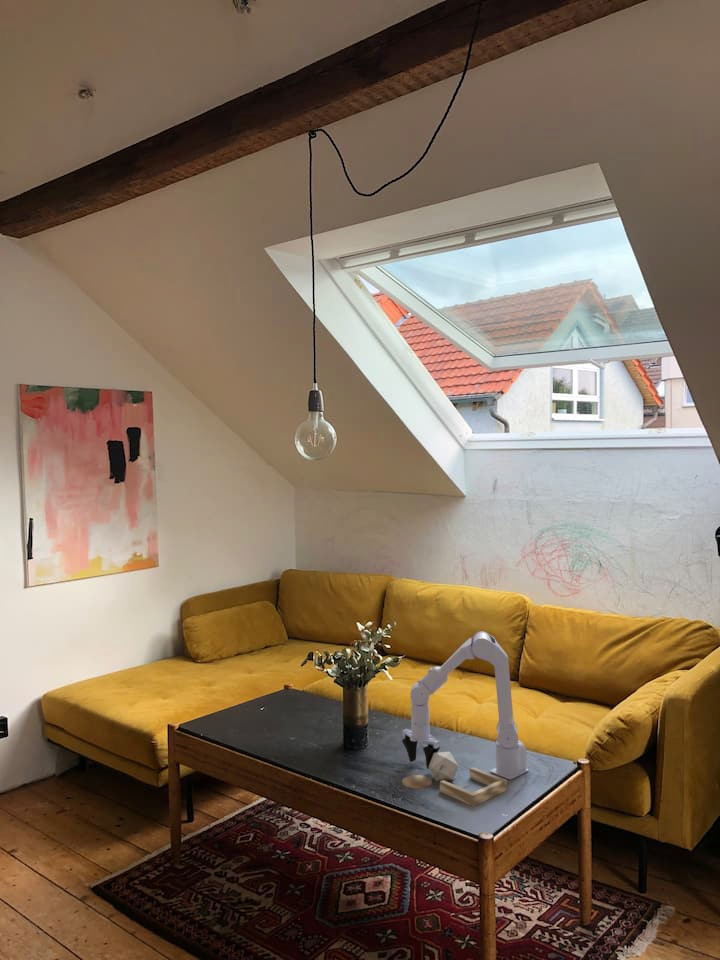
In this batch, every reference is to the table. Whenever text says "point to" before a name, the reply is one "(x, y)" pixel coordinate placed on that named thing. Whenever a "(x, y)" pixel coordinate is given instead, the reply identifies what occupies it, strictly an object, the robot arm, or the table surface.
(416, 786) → the coaster
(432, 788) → the table surface
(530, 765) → the table surface
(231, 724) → the table surface
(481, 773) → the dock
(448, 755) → the die
